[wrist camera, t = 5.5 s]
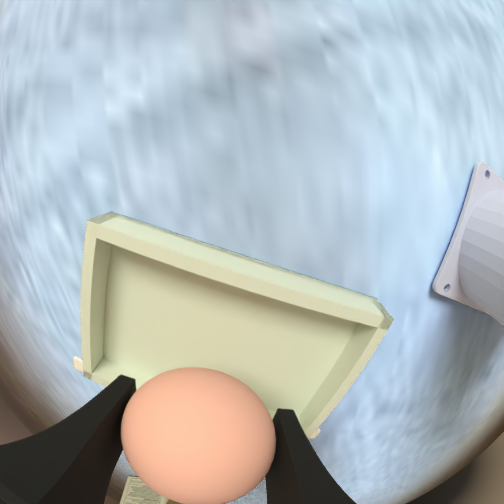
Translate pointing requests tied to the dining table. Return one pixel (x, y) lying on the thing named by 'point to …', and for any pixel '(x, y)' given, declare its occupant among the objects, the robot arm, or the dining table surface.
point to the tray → (220, 318)
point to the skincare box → (142, 494)
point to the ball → (198, 436)
